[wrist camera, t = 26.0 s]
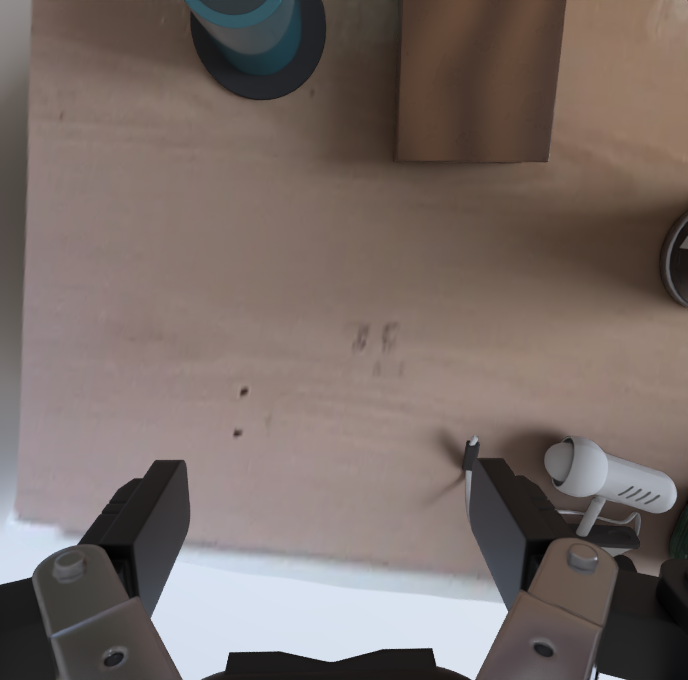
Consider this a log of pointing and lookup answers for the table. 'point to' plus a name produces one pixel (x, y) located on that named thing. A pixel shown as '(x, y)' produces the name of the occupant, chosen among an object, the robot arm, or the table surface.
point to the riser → (476, 79)
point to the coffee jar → (680, 538)
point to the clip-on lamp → (598, 491)
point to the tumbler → (252, 31)
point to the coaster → (280, 80)
